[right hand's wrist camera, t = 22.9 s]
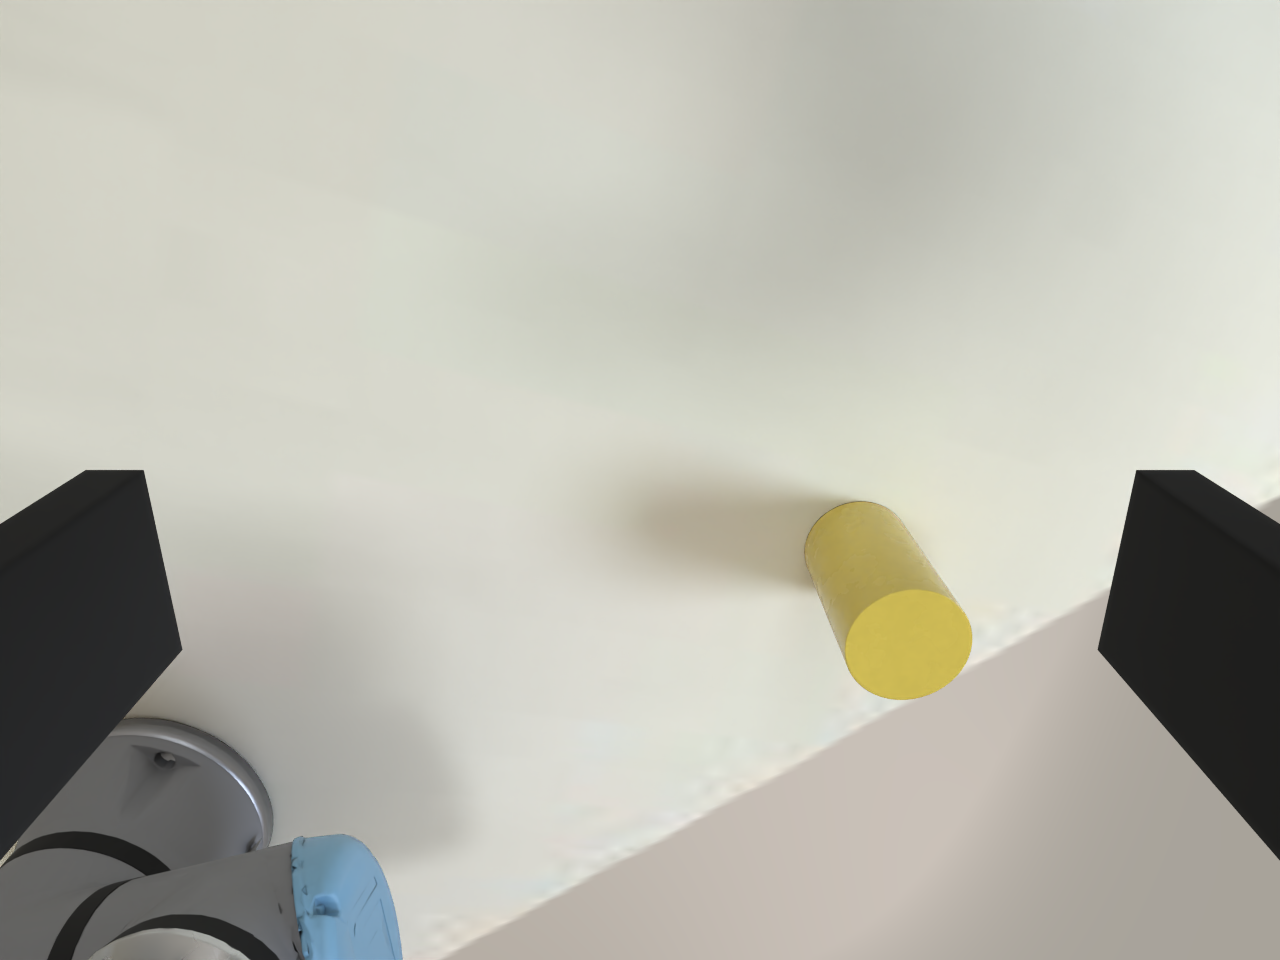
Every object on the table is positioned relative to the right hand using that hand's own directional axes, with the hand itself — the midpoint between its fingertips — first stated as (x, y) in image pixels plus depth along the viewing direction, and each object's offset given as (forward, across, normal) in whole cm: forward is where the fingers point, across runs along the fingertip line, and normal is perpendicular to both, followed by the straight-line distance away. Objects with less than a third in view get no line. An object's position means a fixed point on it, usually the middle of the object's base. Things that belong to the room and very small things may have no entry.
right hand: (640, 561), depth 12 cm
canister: (+40, +14, -19) cm, 47 cm away
